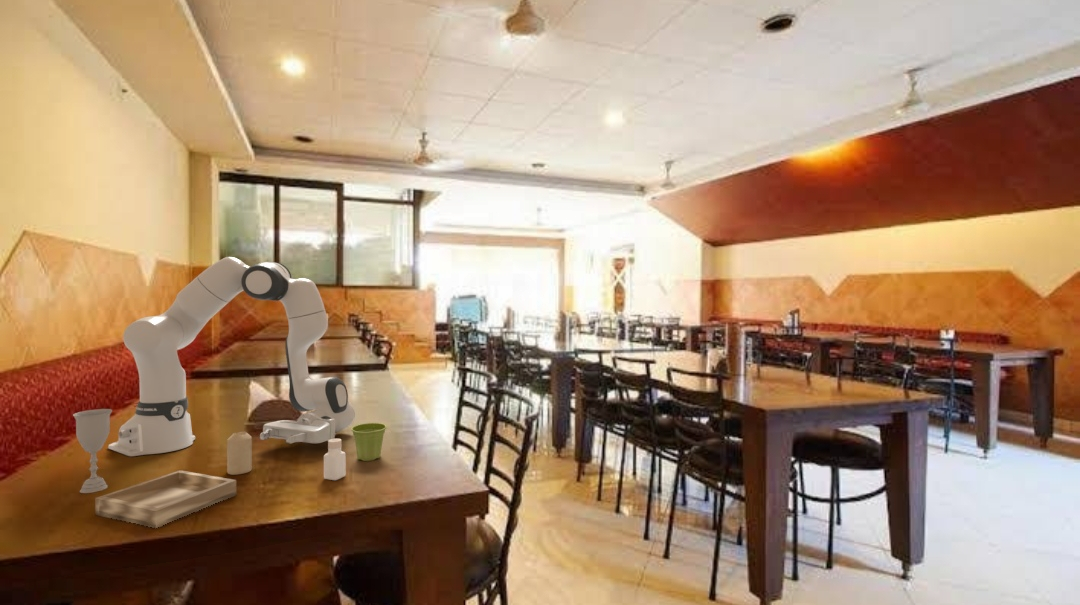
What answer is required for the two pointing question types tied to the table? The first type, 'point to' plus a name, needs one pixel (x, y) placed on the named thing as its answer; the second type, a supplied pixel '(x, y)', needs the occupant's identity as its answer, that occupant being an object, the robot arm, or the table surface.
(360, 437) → the plant pot
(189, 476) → the tray
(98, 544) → the table surface
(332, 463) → the salt shaker
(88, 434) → the chalice
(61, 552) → the table surface
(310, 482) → the table surface
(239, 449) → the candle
